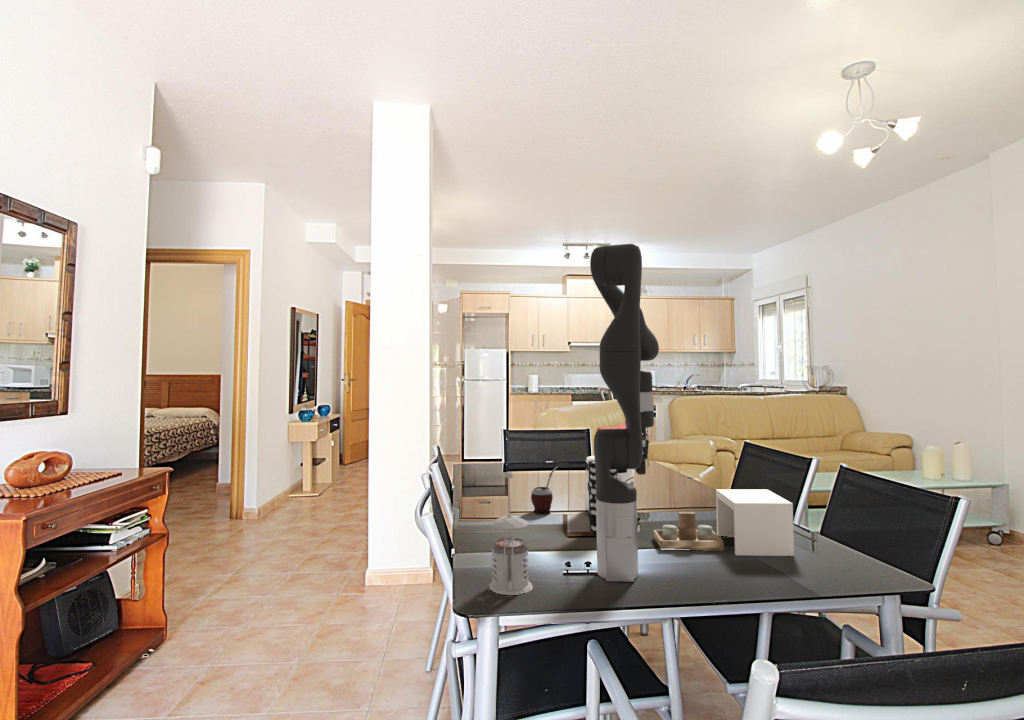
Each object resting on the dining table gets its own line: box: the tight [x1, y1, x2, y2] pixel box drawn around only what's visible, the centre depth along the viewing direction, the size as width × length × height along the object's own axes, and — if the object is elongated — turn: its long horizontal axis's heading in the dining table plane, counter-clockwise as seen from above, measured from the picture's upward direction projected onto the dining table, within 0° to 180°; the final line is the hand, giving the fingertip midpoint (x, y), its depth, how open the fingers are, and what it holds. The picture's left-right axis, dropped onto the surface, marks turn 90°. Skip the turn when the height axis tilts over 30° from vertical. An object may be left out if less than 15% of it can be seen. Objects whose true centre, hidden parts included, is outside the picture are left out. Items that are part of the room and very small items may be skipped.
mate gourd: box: [530, 466, 559, 516], centre depth 181 cm, size 8×8×15 cm
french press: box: [488, 471, 534, 596], centre depth 118 cm, size 10×12×25 cm
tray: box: [652, 511, 725, 552], centre depth 146 cm, size 16×10×8 cm, turn 86°
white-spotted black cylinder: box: [588, 460, 617, 534], centre depth 159 cm, size 8×8×20 cm
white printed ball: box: [583, 455, 636, 512], centre depth 179 cm, size 17×17×18 cm
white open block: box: [715, 488, 795, 557], centre depth 144 cm, size 16×14×13 cm
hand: (640, 473), depth 147 cm, fingers closed
